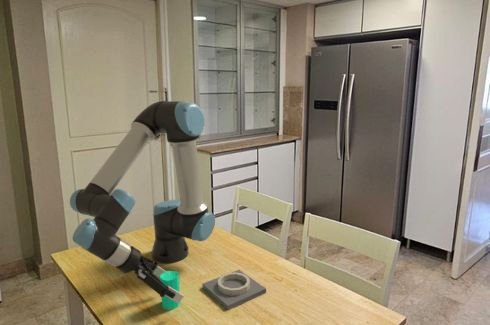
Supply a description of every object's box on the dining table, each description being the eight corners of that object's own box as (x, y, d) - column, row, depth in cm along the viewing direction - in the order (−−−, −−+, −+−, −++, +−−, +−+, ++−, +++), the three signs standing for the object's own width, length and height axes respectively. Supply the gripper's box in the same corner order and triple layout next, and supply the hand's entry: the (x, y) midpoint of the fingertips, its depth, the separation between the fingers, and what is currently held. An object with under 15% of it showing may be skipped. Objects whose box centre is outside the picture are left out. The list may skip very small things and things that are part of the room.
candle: (184, 301, 117) (182, 269, 114) (171, 311, 112) (169, 277, 109) (170, 296, 120) (168, 264, 117) (157, 305, 115) (155, 272, 112)
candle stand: (202, 287, 125) (202, 278, 125) (238, 273, 135) (238, 264, 134) (227, 309, 113) (227, 300, 112) (266, 292, 122) (266, 283, 121)
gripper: (109, 249, 116) (157, 279, 126) (120, 287, 94) (178, 320, 104) (125, 231, 117) (171, 262, 127) (139, 264, 95) (194, 298, 105)
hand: (174, 288), depth 115 cm, fingers open, 13 cm apart
